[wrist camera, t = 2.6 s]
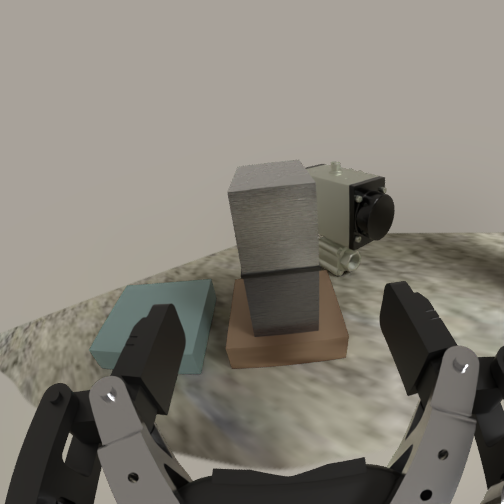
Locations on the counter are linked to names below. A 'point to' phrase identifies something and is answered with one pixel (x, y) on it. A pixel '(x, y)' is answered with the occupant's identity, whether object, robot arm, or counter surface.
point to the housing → (277, 245)
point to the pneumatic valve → (349, 214)
